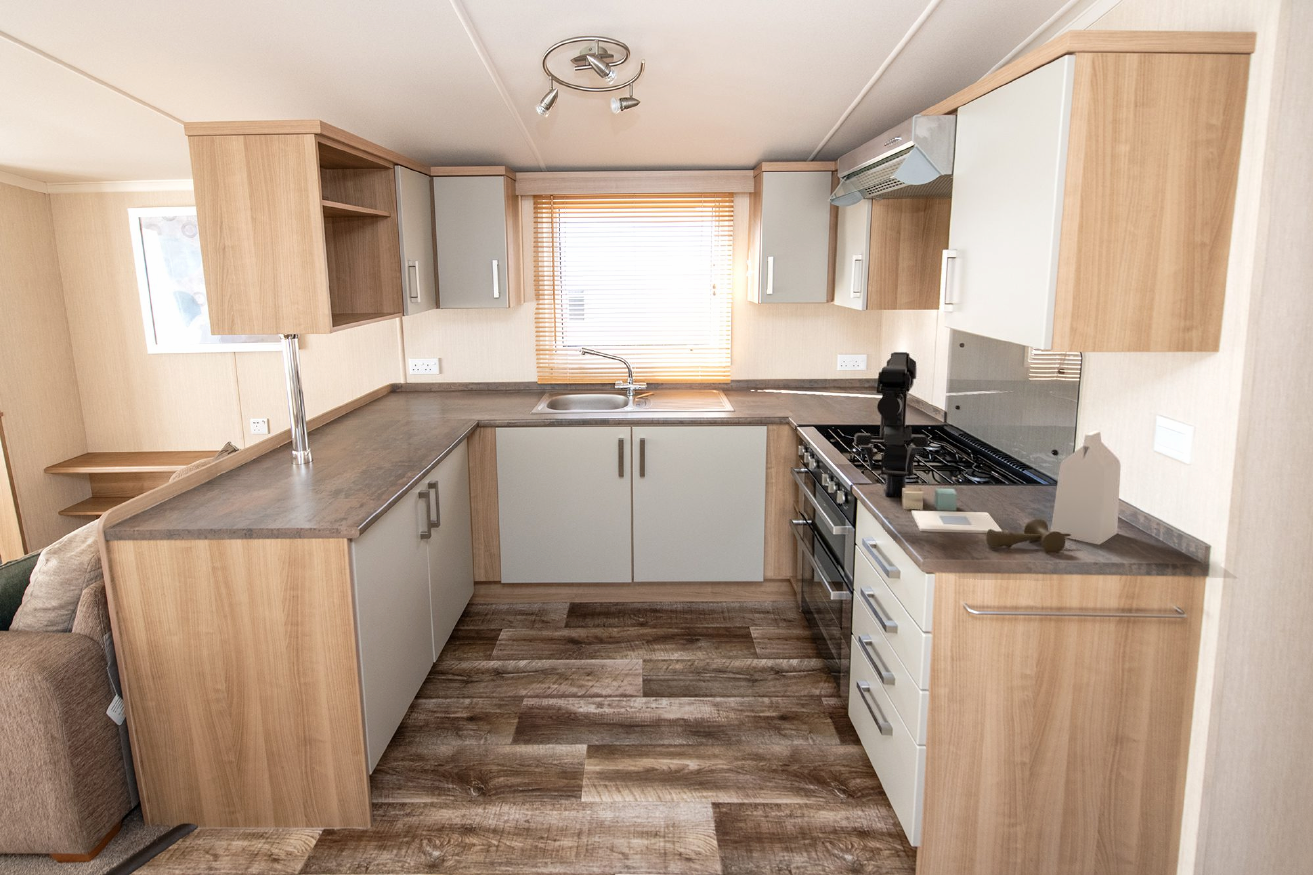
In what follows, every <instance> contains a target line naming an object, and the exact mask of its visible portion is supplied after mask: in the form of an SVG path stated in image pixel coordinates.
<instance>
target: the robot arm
mask: <svg viewBox="0 0 1313 875" xmlns="http://www.w3.org/2000/svg"><path fill="white" fill-rule="evenodd" d="M917 369H918V368H917V361H916V360H914V359H913V358H912V357H911V356H910V353H909V352H907V351H906V352H903V351H894V352H891V354H890V358H889V359H888V360H887V361H886V365H885V366H883V367H882V368H881V370H880V371H879V372H878V376H877V386H876V394H882V395H881V398H880V399H879V400H878V402H877V404H876V405H877V406H876V408H877V411H878V413H879V415H880V427H879V428H880V429H879V436H876V435H875V436H874V435H872V434H871V433H869V432H868V433H863V432H857V433H855V434H854V441H853V443H854V444H855V446H858V447H859V449H863V450H864V452H865V455H866V458H867V461H868V464H869V465H868V466H869V468H870V471H871V472H873V471H874V462H873V461H874V460H873V446H871V444H884V445H886V446H885V448H884V450H883V454H882V455H881V458H880V459H881V460H880V475H881V476H883V475H884V476H885V489H883V491H882V492H883V494H884V495H885V497H895V498H896V497H897V498H898V497H899V498H902V488H907V482H906V481H907V478H908V477H909V478H910V477H913V476H914V458H915V457H916V455H917V453H918V452H919V451H923V448H929V438H928V437H927V436H926V435H924V434H913V432H912V431H913V430H912V429H913V428H912V426H906V424H907V409H908V408H907V407H908V406H907V405H908V393H909V392H910V391H911V389H912V388H913V387H914V381H915V380H916V379H917V373H918V372H917V371H918V370H917ZM907 445H908V446H907Z"/></svg>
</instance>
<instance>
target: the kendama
mask: <svg viewBox="0 0 1313 875" xmlns="http://www.w3.org/2000/svg"><path fill="white" fill-rule="evenodd" d="M985 534H986V535H985V538H986V539H985V540H986V544H987V547H988V548H989V549H990V550H992V551H996V550H998V548H1000V547H1001V548H1002V547H1006V548H1008V549H1010V548H1012V547H1013V546H1014V545H1017V544H1020V543H1024V542H1025V543H1026V542H1032V543H1034V542H1035V543H1039V542H1041V546H1042V547H1041V548H1042V549H1043V551H1044V552H1045V553H1048V554H1057V553H1060V552H1061V551H1063V549H1064V548H1065V545H1066V537H1067V536H1071V534H1066V533H1063V534H1062V533H1060V532H1057V531H1051V530H1050V531H1049V525H1048V523H1047V522H1046V521H1045V520H1044V519H1042V518H1033V519H1031V520H1029V521H1027V523H1026V524H1025V525H1024V529H1023V533H1019V532H1013V531H1010V529H1004V530H1002V532H997V531H994V530H992V529H989V530H988V531H987V533H985Z"/></svg>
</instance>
